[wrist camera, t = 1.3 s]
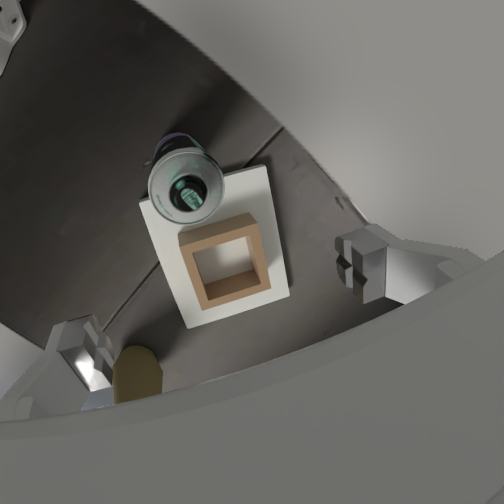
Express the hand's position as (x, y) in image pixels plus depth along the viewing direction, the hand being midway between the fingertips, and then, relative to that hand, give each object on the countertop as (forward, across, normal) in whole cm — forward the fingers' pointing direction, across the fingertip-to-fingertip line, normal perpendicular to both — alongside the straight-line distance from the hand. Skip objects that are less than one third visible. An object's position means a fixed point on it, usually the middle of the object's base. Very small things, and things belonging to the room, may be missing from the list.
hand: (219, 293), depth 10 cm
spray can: (+31, 0, 0) cm, 31 cm away
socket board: (+31, -2, +14) cm, 34 cm away
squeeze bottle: (+31, +16, +28) cm, 45 cm away
